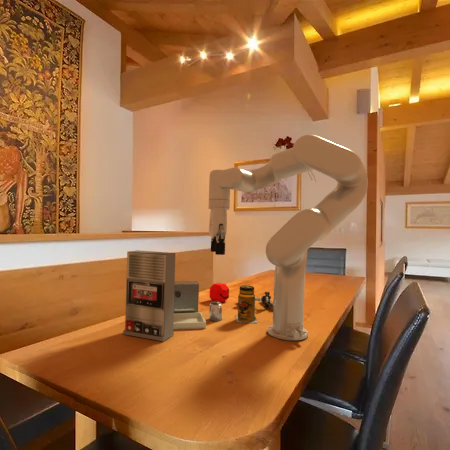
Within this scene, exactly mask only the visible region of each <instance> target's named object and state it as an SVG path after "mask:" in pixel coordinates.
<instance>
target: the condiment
mask: <svg viewBox="0 0 450 450" xmlns="http://www.w3.org/2000/svg"><path fill="white" fill-rule="evenodd" d="M237 296H238V297H237V298H238V299H237V314H236V315H235V320H236V323H243V324H247V323H248V324H249V323H251V324H252V323H259V322H258V319H257V317H256V315H255V313H256V312H255V310H256V301H255V297H256V294H255V287H254V286H253V285H241V286H239V293H238V295H237Z"/></svg>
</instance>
